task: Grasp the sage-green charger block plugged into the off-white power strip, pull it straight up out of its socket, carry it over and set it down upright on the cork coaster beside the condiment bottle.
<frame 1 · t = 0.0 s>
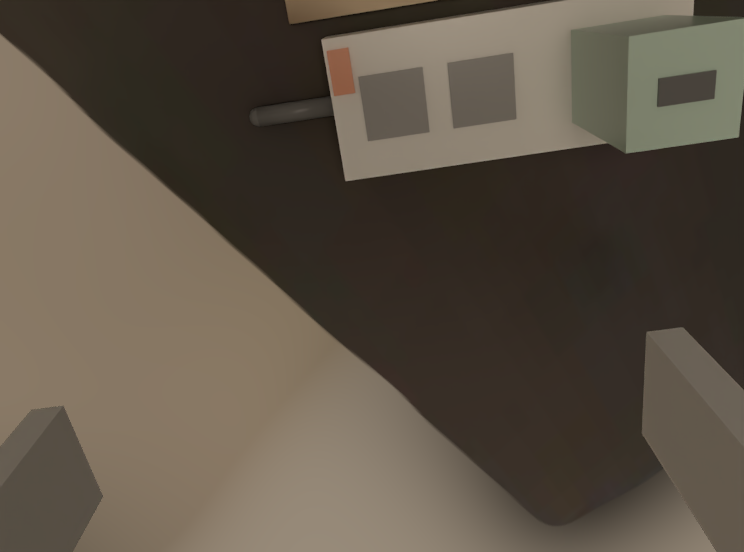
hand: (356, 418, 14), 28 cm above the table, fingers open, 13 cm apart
power strip: (495, 79, 37), on the table
charger: (604, 67, 35), point 2 cm above the table, touching power strip
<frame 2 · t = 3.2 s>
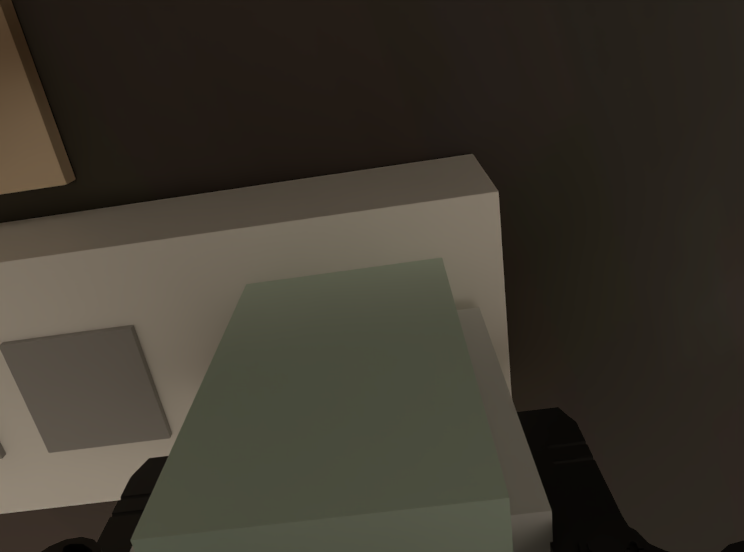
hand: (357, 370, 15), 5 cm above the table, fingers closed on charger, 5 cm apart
power strip: (184, 314, 20), on the table
charger: (359, 319, 18), point 2 cm above the table, touching gripper, power strip
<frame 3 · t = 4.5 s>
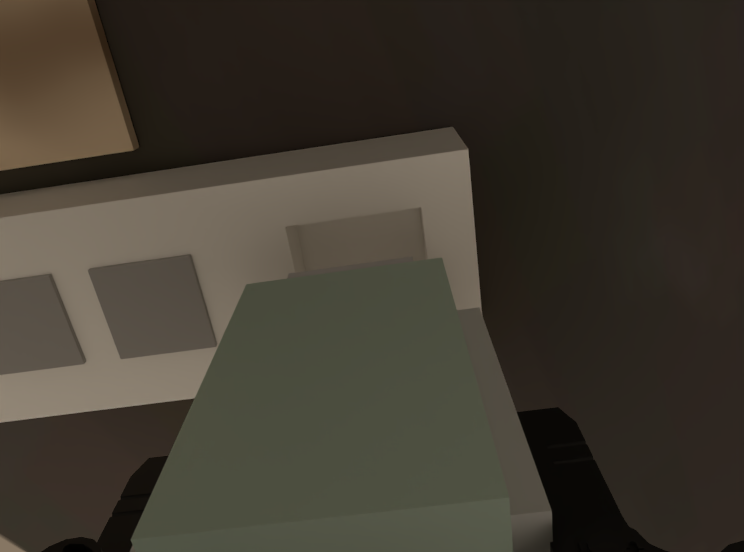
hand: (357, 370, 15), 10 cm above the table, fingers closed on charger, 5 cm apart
power strip: (222, 258, 25), on the table
charger: (359, 319, 18), point 7 cm above the table, touching gripper
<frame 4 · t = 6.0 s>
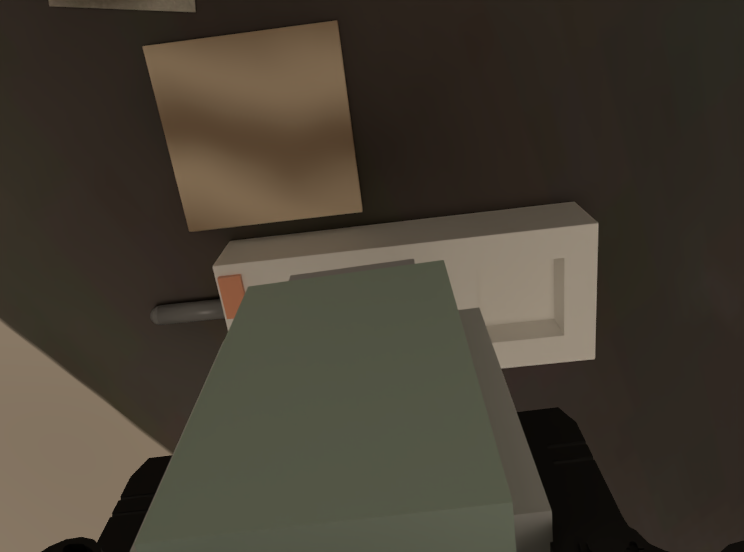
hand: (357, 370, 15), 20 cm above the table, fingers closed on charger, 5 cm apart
power strip: (406, 284, 36), on the table
charger: (361, 321, 18), point 17 cm above the table, touching gripper
cork coaster: (260, 131, 33), on the table
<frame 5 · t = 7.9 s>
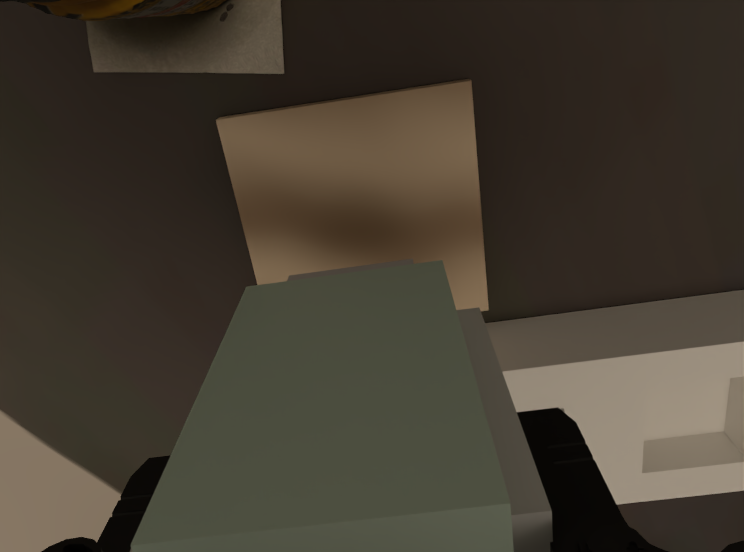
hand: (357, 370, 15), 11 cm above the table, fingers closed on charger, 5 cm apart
power strip: (533, 388, 29), on the table
charger: (360, 321, 18), point 9 cm above the table, touching gripper
cork coaster: (362, 217, 26), on the table
when the fingers open (4 cm above the table, at t = 9.3 s): charger drops 1 cm, resting on cork coaster.
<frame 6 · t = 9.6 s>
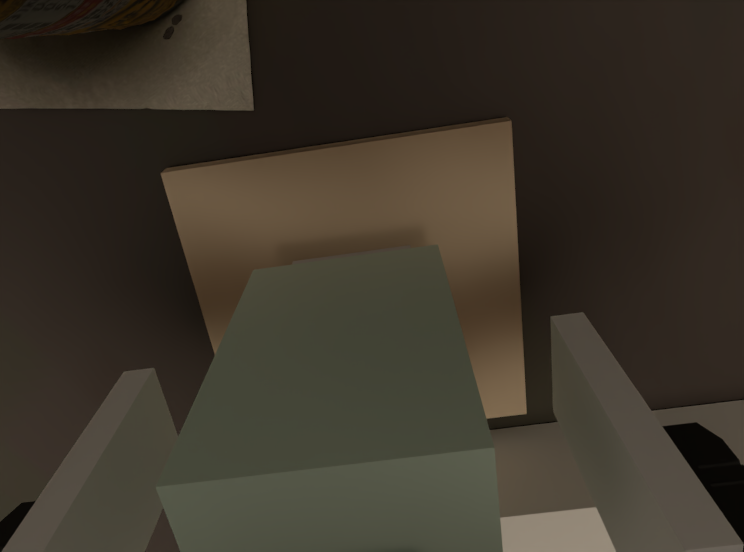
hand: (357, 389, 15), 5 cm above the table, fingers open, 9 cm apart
power strip: (580, 502, 23), on the table
charger: (360, 305, 19), point 1 cm above the table, touching cork coaster
cork coaster: (360, 296, 19), on the table
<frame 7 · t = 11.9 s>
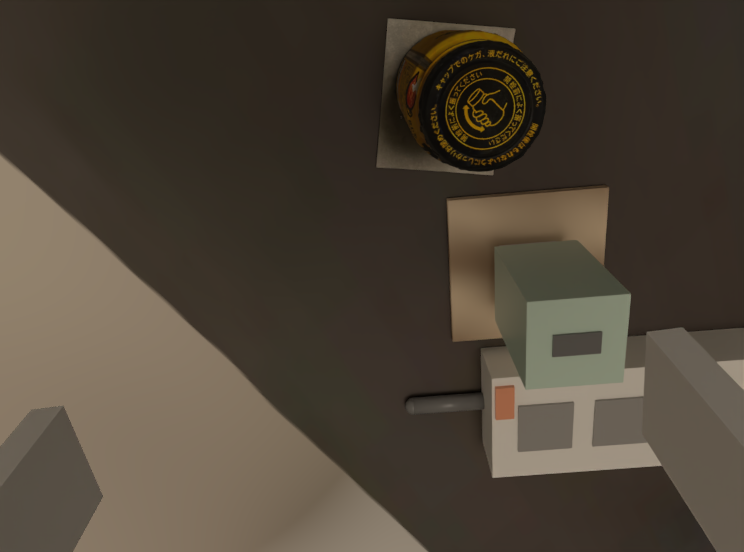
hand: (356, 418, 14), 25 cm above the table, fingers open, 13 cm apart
condiment: (442, 99, 36), on the table
power strip: (619, 385, 43), on the table
charger: (526, 269, 39), point 1 cm above the table, touching cork coaster
cork coaster: (524, 265, 40), on the table
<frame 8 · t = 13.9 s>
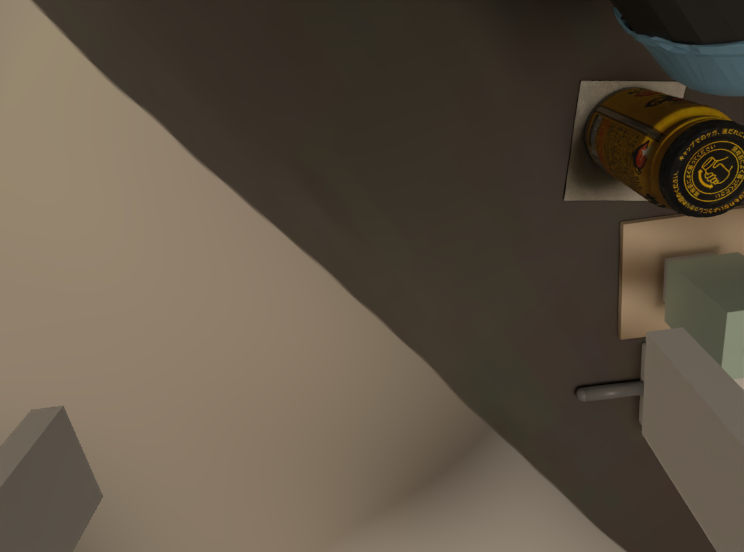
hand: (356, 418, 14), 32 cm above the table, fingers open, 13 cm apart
condiment: (620, 142, 43), on the table
charger: (687, 276, 46), point 1 cm above the table, touching cork coaster
cork coaster: (683, 272, 47), on the table
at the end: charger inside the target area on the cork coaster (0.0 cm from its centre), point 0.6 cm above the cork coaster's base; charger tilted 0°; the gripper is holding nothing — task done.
